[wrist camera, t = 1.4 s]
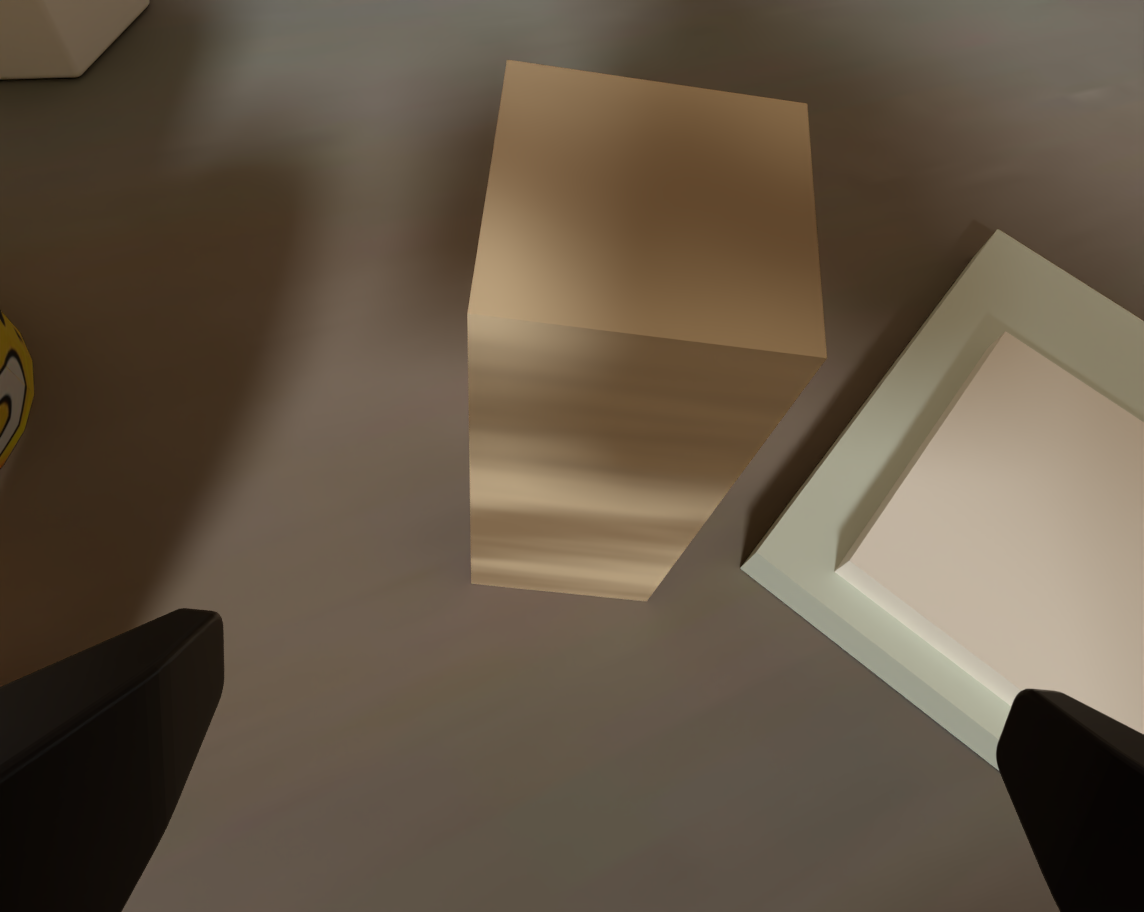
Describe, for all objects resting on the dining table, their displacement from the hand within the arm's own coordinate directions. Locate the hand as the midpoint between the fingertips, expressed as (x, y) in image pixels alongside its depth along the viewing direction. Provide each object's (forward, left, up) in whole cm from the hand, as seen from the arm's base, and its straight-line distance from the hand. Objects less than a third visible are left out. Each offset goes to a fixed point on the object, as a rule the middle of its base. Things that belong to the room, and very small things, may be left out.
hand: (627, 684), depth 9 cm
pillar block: (+4, -6, -13) cm, 15 cm away
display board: (-11, -16, -13) cm, 23 cm away
